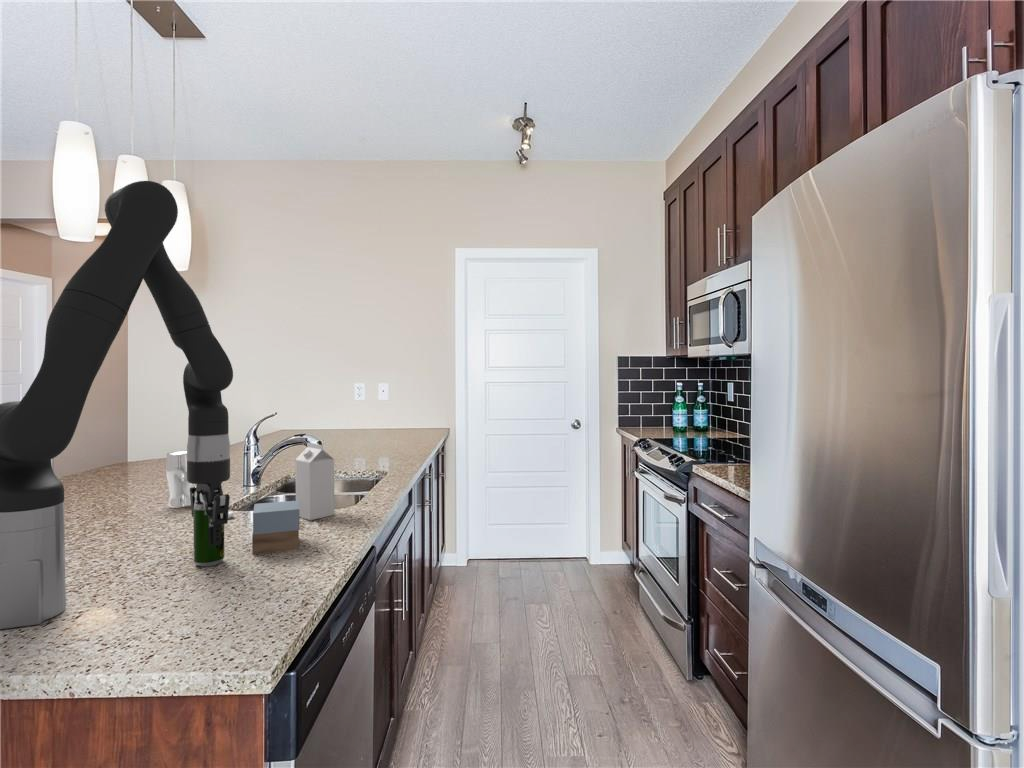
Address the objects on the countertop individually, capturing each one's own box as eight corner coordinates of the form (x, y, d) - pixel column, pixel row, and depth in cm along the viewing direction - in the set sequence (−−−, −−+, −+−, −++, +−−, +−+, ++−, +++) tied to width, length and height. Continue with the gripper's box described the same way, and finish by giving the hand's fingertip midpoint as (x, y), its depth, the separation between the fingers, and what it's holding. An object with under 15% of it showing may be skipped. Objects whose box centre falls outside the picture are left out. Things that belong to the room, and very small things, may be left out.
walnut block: (298, 551, 120) (298, 530, 119) (252, 556, 116) (252, 534, 116) (297, 539, 128) (297, 519, 128) (254, 544, 125) (254, 523, 124)
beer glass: (170, 503, 161) (169, 451, 161) (197, 502, 163) (196, 450, 163) (163, 509, 154) (162, 455, 154) (191, 507, 156) (190, 454, 156)
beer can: (194, 568, 107) (194, 506, 107) (192, 560, 112) (192, 500, 111) (226, 563, 110) (225, 502, 110) (222, 556, 115) (222, 497, 114)
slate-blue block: (299, 530, 119) (299, 509, 119) (253, 534, 116) (252, 513, 116) (298, 519, 128) (297, 500, 128) (254, 524, 124) (254, 503, 124)
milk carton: (319, 511, 153) (319, 441, 152) (334, 515, 148) (334, 443, 148) (295, 516, 147) (295, 444, 147) (310, 521, 143) (309, 446, 142)
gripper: (243, 458, 109) (244, 545, 109) (214, 451, 118) (214, 531, 118) (202, 463, 103) (202, 554, 103) (174, 455, 112) (175, 539, 113)
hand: (209, 542), depth 111 cm, fingers closed on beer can, 5 cm apart
